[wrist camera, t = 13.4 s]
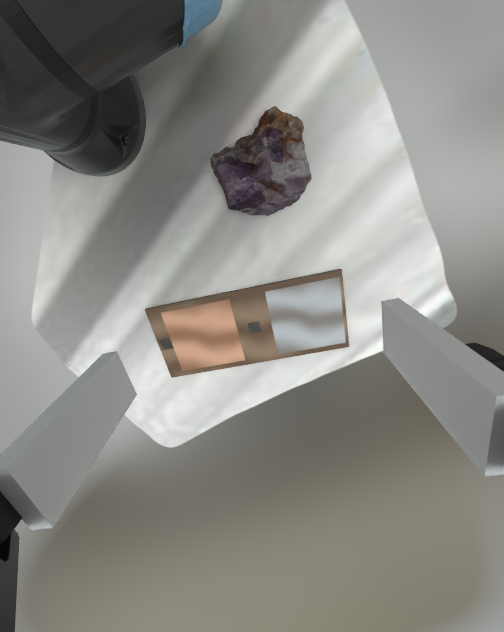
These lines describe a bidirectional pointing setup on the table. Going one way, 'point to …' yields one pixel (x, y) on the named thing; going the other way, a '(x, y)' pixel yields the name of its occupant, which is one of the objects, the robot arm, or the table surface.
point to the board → (252, 324)
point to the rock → (265, 166)
